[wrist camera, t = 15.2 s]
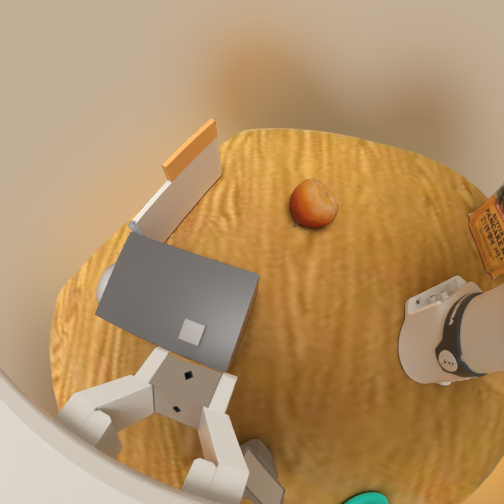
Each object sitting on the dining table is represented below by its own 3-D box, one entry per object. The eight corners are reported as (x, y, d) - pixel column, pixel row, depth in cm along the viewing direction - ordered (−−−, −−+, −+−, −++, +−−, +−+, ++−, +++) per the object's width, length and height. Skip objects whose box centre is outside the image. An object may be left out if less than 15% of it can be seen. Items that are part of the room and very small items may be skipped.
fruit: (271, 195, 46) (301, 167, 40) (304, 201, 51) (333, 177, 45) (284, 237, 43) (318, 212, 37) (317, 240, 48) (350, 218, 42)
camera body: (257, 293, 42) (259, 272, 32) (231, 367, 38) (225, 372, 28) (141, 252, 44) (114, 224, 34) (113, 318, 40) (78, 305, 30)
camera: (185, 457, 32) (157, 499, 18) (250, 425, 34) (250, 462, 20) (217, 495, 29) (204, 546, 15) (281, 465, 32) (296, 512, 18)
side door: (217, 171, 49) (210, 118, 36) (222, 174, 49) (216, 120, 36) (149, 252, 43) (116, 213, 31) (154, 256, 43) (122, 217, 30)
